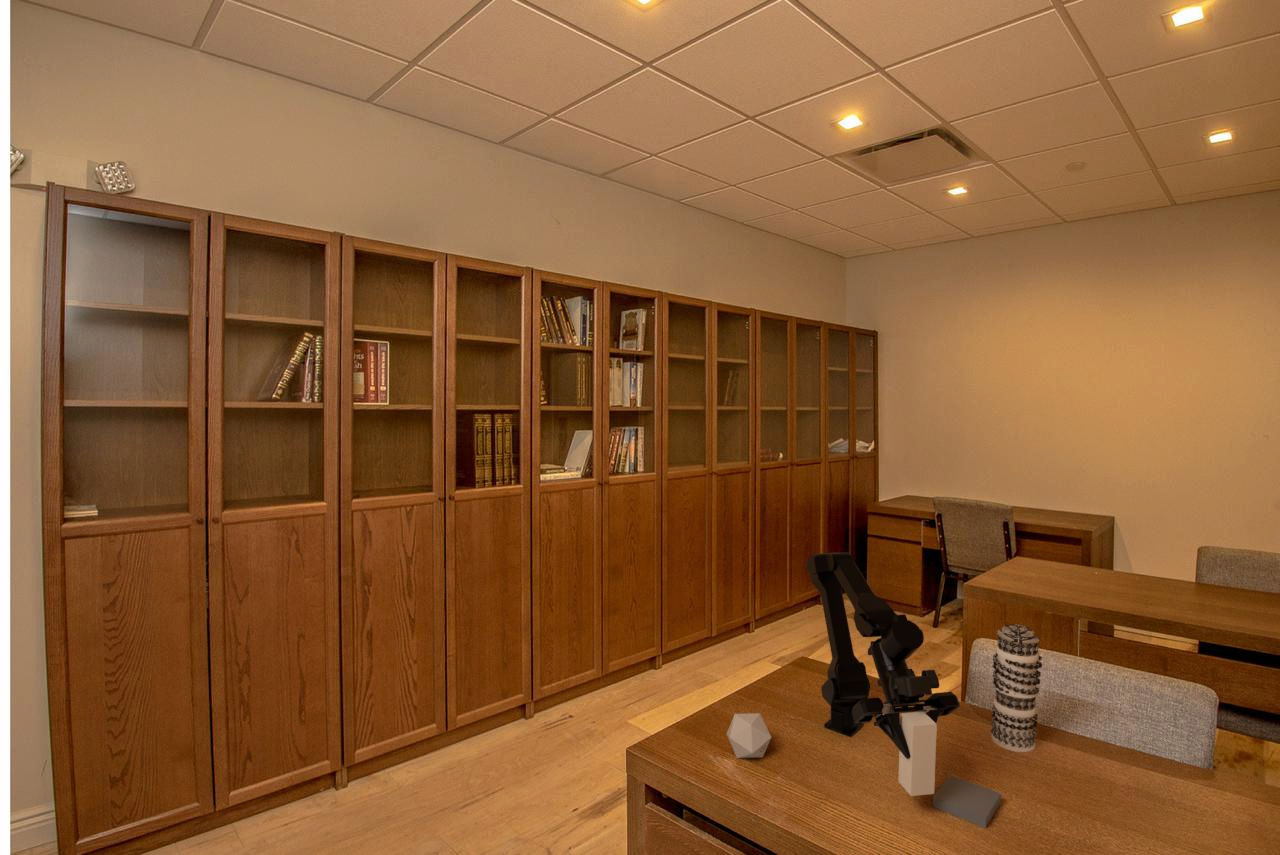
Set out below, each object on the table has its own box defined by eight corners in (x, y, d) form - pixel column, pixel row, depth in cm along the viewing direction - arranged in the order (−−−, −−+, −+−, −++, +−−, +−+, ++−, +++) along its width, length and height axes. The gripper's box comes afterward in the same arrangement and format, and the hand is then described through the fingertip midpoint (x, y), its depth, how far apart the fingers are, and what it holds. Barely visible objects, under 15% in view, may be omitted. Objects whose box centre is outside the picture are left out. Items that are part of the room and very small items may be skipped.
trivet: (949, 784, 136) (950, 774, 136) (1000, 803, 130) (1000, 793, 130) (932, 806, 129) (933, 796, 129) (985, 828, 123) (985, 817, 123)
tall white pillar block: (898, 781, 129) (900, 713, 128) (920, 779, 130) (923, 711, 128) (910, 796, 125) (913, 726, 123) (934, 793, 125) (936, 724, 124)
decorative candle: (1048, 747, 148) (1054, 632, 146) (1016, 757, 145) (1022, 639, 142) (1010, 726, 157) (1015, 617, 154) (979, 735, 153) (984, 624, 151)
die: (759, 774, 141) (783, 728, 143) (720, 749, 142) (744, 704, 144) (752, 766, 149) (774, 722, 151) (715, 742, 150) (738, 699, 152)
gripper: (860, 657, 127) (888, 748, 117) (956, 650, 130) (991, 739, 120) (841, 678, 136) (865, 766, 126) (931, 672, 138) (962, 757, 129)
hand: (921, 757), depth 125 cm, fingers closed on tall white pillar block, 4 cm apart
